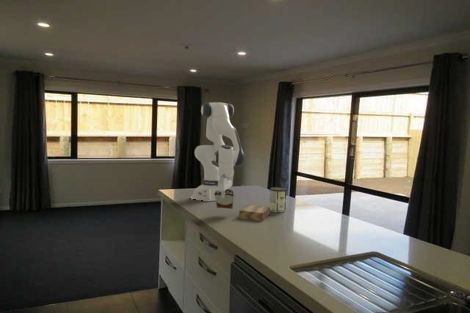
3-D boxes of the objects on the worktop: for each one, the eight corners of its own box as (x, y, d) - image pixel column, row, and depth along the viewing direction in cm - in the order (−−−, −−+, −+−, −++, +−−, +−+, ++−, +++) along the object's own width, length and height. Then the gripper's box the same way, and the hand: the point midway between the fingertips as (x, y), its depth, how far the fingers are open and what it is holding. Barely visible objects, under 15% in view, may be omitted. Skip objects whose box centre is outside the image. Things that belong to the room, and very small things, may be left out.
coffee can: (275, 207, 228) (276, 186, 227) (288, 210, 221) (289, 188, 220) (266, 210, 220) (267, 188, 219) (279, 213, 213) (280, 190, 212)
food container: (236, 203, 207) (236, 188, 203) (235, 208, 201) (234, 193, 197) (216, 202, 209) (215, 187, 205) (214, 207, 203) (213, 192, 199)
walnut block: (239, 219, 198) (239, 210, 197) (247, 212, 213) (247, 204, 212) (262, 221, 193) (263, 213, 193) (269, 215, 208) (269, 207, 208)
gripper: (226, 176, 189) (225, 200, 191) (235, 171, 209) (234, 193, 210) (215, 175, 191) (214, 199, 192) (225, 170, 211) (224, 192, 212)
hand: (225, 196), depth 201 cm, fingers closed on food container, 5 cm apart
